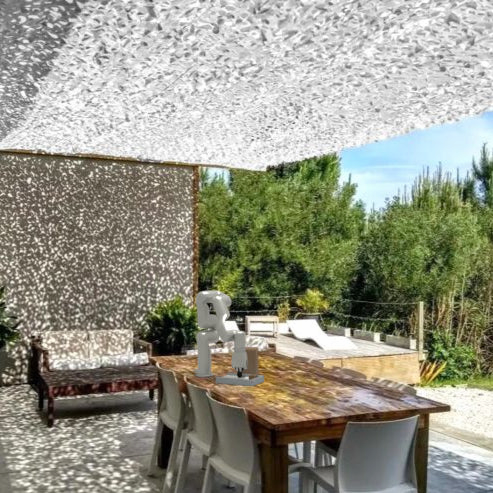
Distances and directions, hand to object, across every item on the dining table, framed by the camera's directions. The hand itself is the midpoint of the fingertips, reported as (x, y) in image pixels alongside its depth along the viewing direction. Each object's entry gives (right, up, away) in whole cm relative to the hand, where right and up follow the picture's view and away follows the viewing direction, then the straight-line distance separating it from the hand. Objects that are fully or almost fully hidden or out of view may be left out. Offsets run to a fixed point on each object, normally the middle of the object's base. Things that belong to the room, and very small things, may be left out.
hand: (239, 377), depth 421 cm
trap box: (0, -3, 0) cm, 3 cm away
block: (+7, -4, +22) cm, 23 cm away
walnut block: (+9, -1, -4) cm, 10 cm away
